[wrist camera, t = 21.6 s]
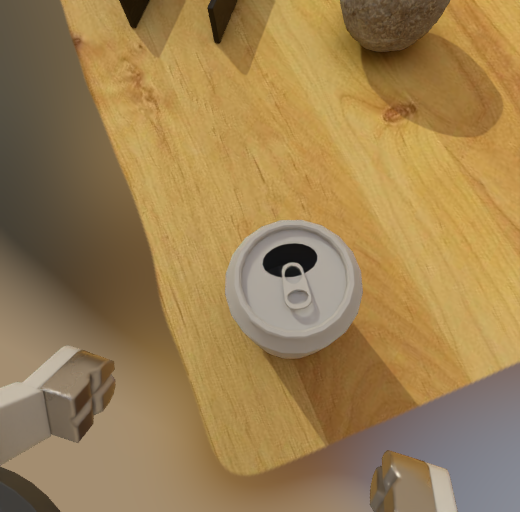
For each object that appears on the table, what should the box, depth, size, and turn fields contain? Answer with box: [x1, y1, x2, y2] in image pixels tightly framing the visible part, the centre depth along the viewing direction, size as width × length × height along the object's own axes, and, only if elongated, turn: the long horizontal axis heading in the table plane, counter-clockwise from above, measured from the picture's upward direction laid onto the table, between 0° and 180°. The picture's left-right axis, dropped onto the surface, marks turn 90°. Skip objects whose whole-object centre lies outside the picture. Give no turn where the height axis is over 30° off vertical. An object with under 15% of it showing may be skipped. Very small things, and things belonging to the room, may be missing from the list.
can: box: [225, 220, 363, 359], centre depth 24 cm, size 8×8×12 cm
